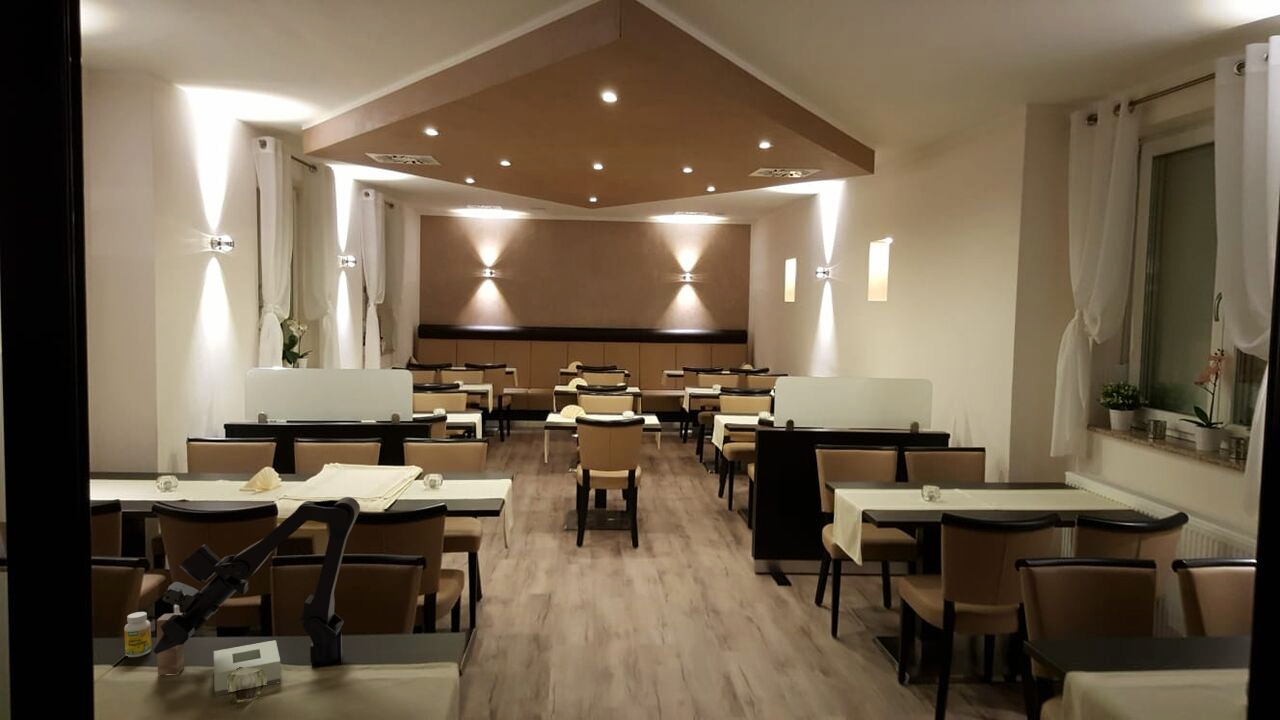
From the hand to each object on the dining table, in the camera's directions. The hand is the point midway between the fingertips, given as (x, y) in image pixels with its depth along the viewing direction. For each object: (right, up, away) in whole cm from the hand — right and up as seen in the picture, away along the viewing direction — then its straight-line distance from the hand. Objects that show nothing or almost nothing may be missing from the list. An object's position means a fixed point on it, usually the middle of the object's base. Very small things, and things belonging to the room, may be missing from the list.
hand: (164, 643), depth 177 cm
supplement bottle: (-13, -6, +10) cm, 18 cm away
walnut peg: (+1, -7, +1) cm, 7 cm away
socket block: (+20, -7, -2) cm, 22 cm away
